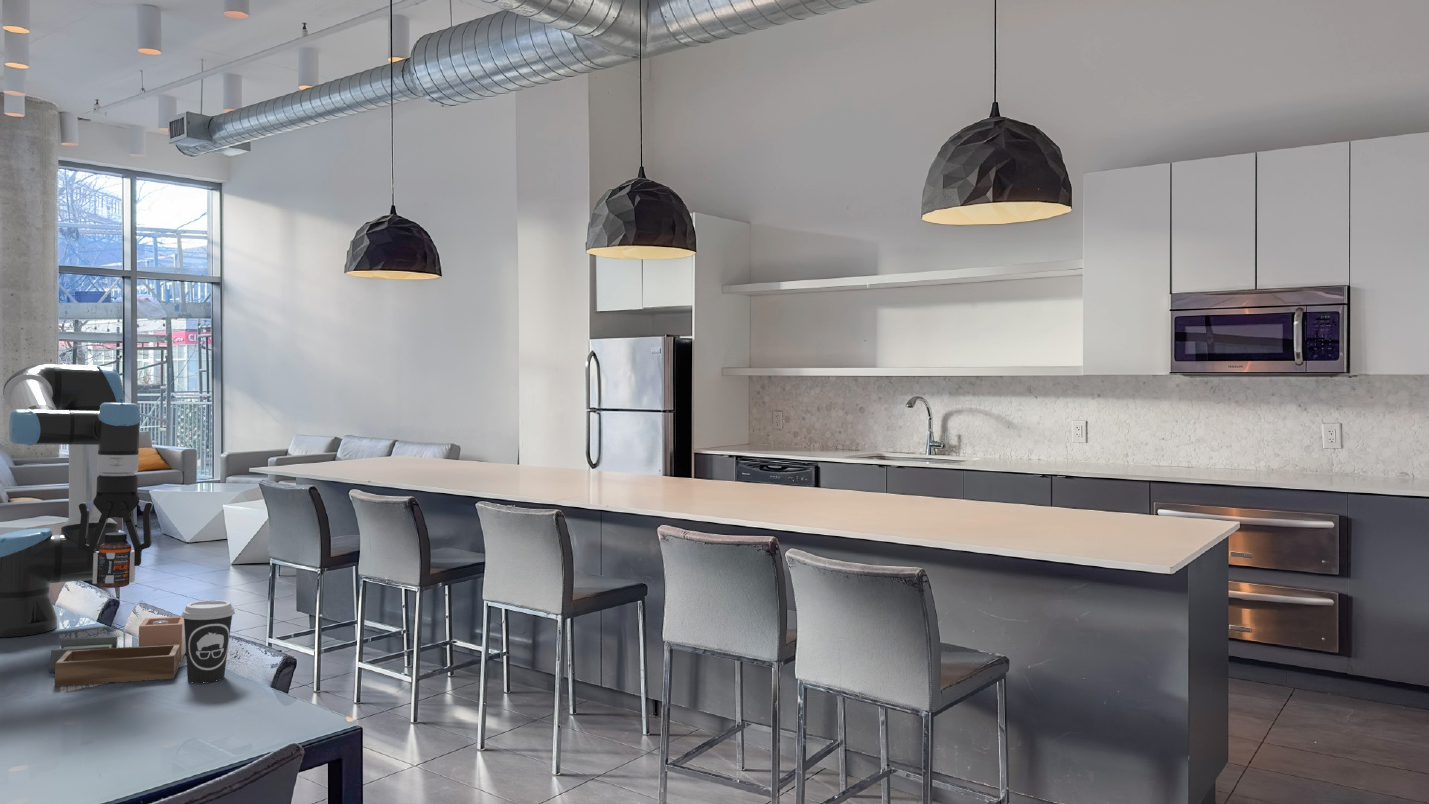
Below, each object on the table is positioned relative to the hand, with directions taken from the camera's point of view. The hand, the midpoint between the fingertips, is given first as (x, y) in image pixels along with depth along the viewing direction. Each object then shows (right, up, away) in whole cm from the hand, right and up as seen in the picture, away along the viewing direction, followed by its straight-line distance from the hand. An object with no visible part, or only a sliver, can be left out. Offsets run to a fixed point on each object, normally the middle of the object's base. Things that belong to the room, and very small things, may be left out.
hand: (113, 581), depth 207 cm
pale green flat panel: (-2, -14, -7) cm, 15 cm away
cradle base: (-2, -16, -7) cm, 17 cm away
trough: (+10, -16, -14) cm, 23 cm away
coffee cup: (+27, -17, -14) cm, 35 cm away
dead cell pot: (+10, -16, 0) cm, 20 cm away
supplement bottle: (0, -1, 0) cm, 1 cm away
